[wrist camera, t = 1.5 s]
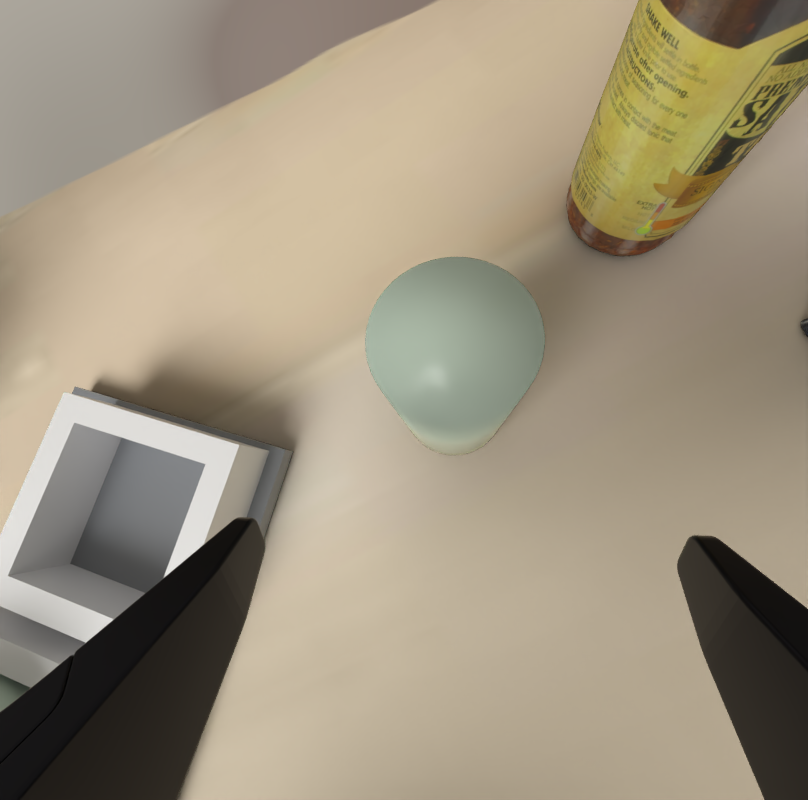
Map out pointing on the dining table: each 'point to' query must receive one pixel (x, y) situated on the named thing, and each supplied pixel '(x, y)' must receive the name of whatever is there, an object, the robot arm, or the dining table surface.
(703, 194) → the sauce bottle
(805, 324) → the small box
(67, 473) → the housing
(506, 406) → the pale green rounded block
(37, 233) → the dining table surface
